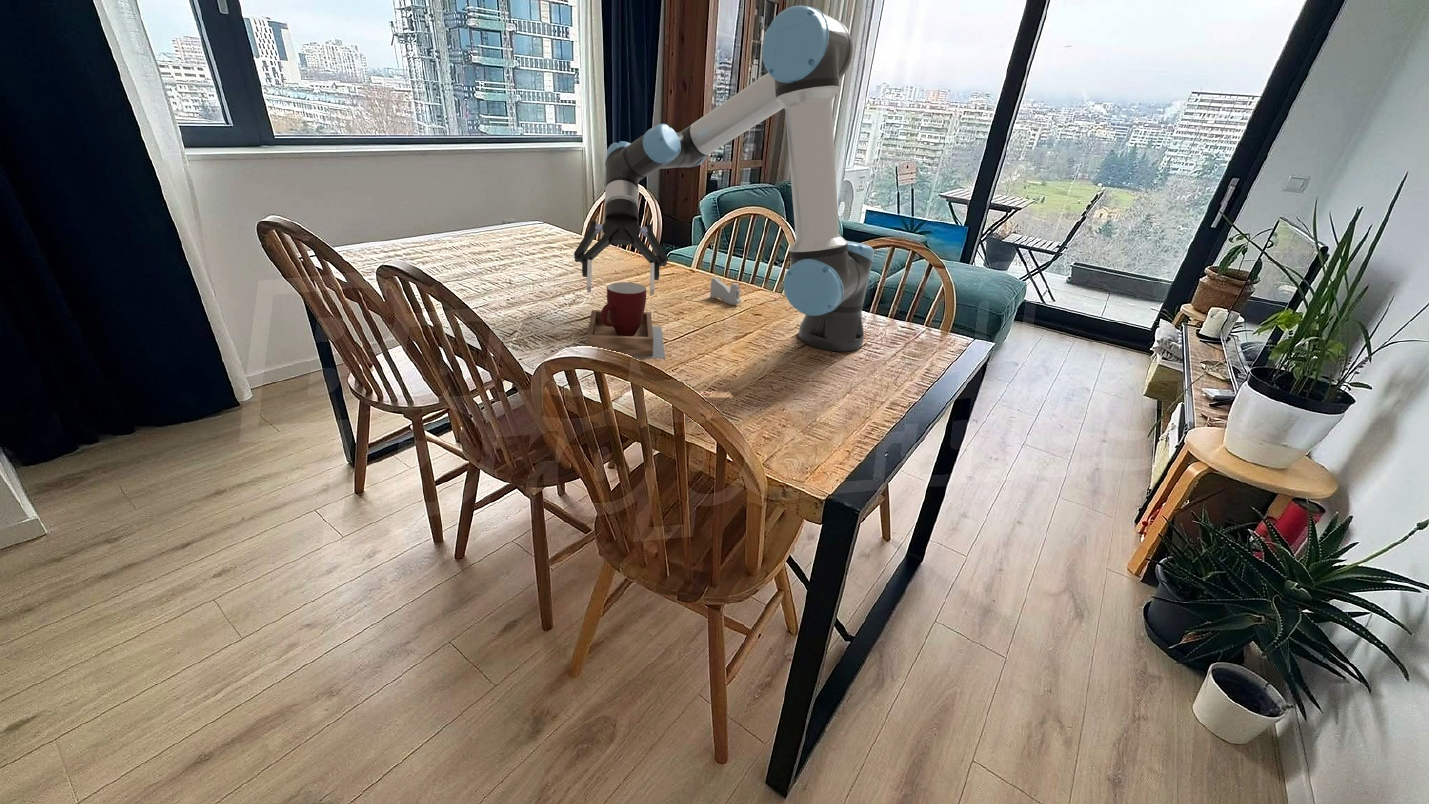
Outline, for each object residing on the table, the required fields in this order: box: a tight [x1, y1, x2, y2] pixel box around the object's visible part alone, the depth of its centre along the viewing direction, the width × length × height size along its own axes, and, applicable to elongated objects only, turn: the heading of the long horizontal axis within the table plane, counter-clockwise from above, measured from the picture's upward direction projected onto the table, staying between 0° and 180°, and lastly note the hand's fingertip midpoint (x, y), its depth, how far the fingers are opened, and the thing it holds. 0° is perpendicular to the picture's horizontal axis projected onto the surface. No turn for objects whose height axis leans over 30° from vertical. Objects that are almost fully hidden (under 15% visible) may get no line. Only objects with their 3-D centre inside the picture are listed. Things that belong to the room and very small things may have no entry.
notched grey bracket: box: [709, 277, 742, 306], centre depth 154 cm, size 6×1×10 cm
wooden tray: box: [586, 309, 653, 356], centre depth 121 cm, size 13×16×4 cm
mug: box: [601, 281, 647, 336], centre depth 119 cm, size 10×8×10 cm
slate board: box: [585, 325, 666, 360], centre depth 122 cm, size 16×18×1 cm
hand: (620, 291), depth 124 cm, fingers open, 13 cm apart
